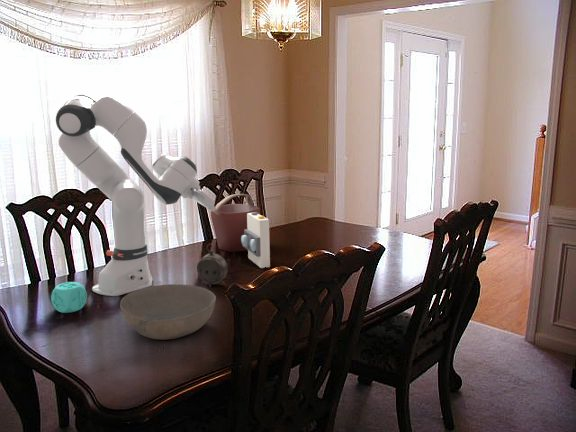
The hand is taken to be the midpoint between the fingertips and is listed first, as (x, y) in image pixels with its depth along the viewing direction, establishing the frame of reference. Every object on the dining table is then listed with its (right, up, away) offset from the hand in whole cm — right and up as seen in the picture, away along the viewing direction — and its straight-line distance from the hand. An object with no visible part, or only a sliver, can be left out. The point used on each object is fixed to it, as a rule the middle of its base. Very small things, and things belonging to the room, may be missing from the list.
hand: (213, 209), depth 207 cm
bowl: (-6, -37, -50) cm, 62 cm away
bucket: (+6, -17, +40) cm, 44 cm away
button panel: (+16, -22, +15) cm, 31 cm away
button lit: (+16, -17, +9) cm, 25 cm away
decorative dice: (-43, -34, -32) cm, 64 cm away
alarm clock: (+1, -29, -13) cm, 31 cm away
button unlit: (+11, -16, +16) cm, 25 cm away
